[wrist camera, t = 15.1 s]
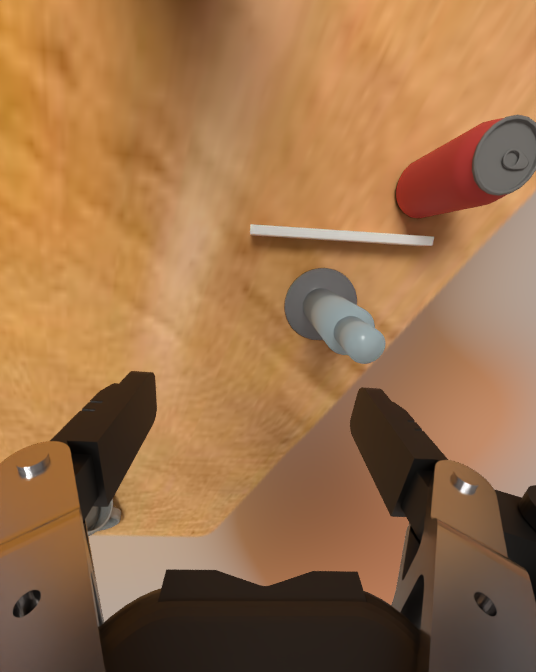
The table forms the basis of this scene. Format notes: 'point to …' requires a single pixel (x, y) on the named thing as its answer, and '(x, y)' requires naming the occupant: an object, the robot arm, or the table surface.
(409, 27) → the table surface
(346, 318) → the grey bottle
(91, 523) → the ceramic mug
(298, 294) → the coaster
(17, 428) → the table surface
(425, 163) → the beer can
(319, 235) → the wall
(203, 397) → the table surface
